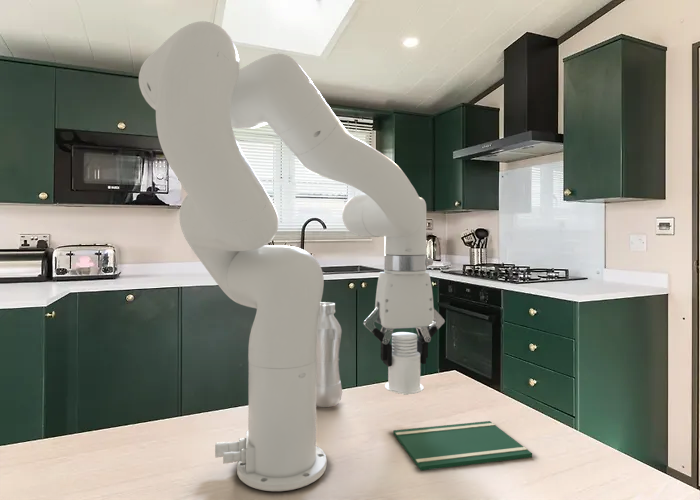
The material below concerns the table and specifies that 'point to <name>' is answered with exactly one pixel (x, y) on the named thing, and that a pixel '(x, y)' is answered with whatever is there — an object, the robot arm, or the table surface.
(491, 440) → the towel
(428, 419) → the table surface
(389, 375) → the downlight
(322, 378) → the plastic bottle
